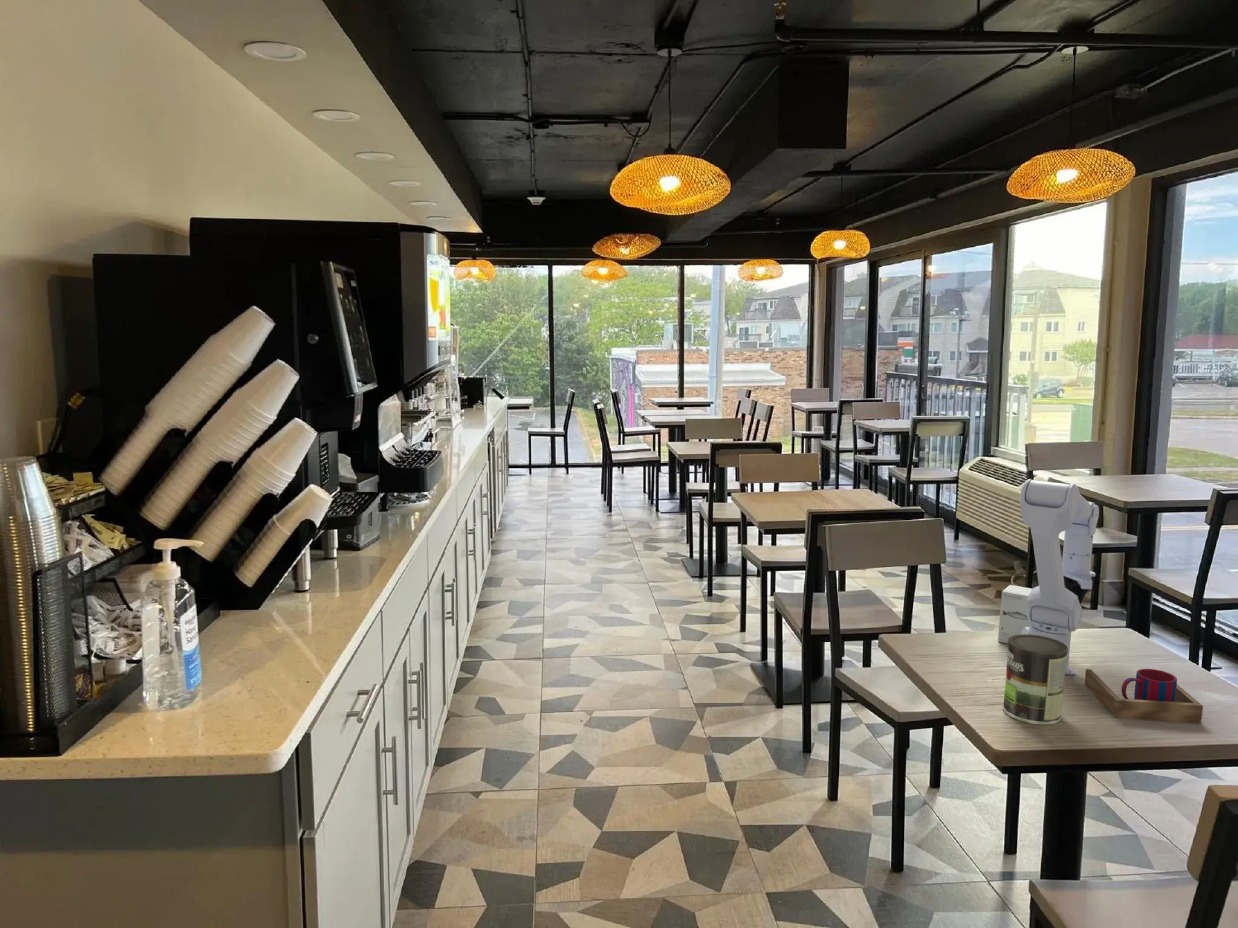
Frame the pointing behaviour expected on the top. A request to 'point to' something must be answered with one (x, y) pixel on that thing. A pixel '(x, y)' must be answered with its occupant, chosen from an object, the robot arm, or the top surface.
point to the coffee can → (1035, 679)
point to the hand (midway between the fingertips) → (1072, 610)
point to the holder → (1145, 704)
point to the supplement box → (1013, 612)
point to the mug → (1152, 685)
